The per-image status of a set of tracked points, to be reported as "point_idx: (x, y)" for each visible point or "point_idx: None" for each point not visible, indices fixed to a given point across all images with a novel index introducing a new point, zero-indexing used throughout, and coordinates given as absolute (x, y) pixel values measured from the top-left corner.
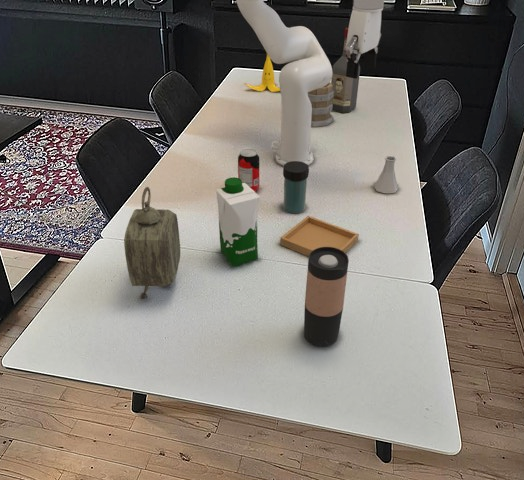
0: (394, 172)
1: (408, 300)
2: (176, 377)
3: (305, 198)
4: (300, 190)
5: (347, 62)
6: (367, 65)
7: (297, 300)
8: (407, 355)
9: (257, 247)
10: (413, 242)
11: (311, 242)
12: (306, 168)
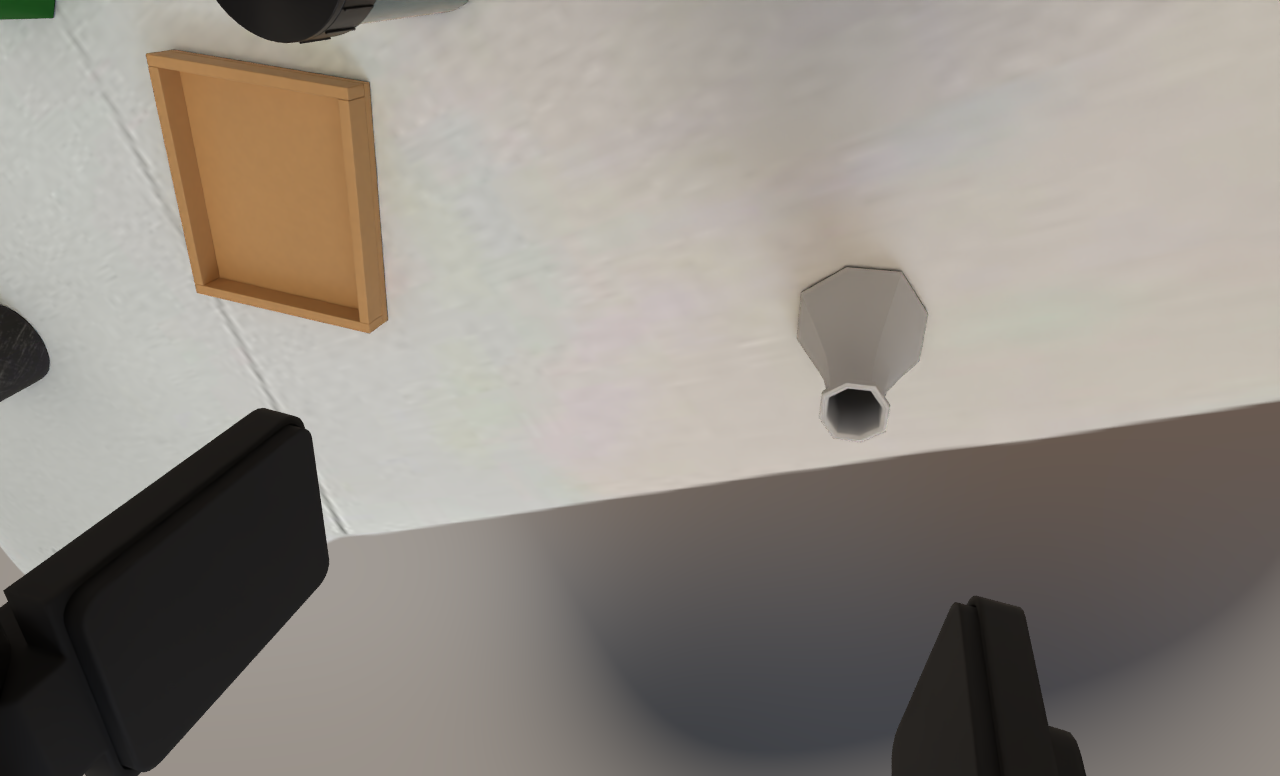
0: (859, 400)
1: None
2: None
3: (420, 14)
4: None
5: (34, 573)
6: (931, 698)
7: (40, 243)
8: None
9: (10, 12)
10: (497, 485)
11: (253, 170)
12: (291, 28)
